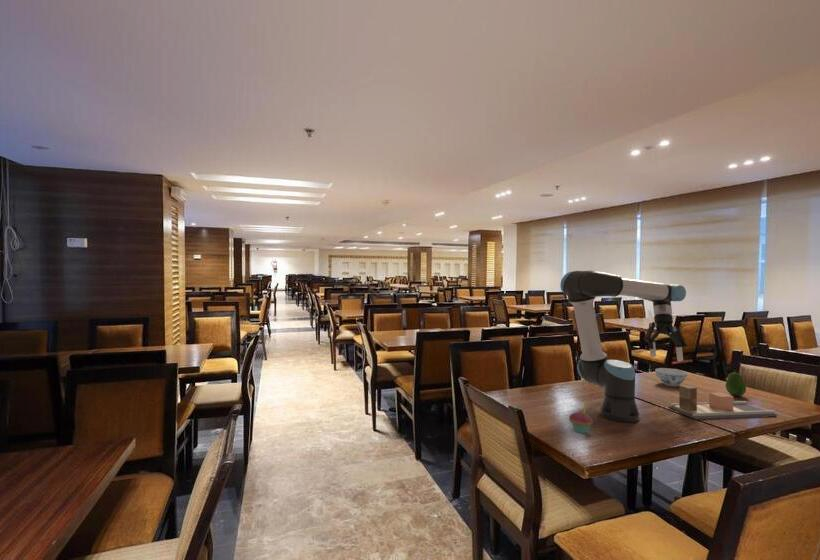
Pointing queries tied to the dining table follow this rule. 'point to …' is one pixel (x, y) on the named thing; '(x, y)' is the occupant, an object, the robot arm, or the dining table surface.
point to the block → (721, 401)
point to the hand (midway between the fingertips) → (666, 358)
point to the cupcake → (581, 421)
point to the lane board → (748, 412)
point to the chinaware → (671, 376)
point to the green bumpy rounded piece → (735, 384)
